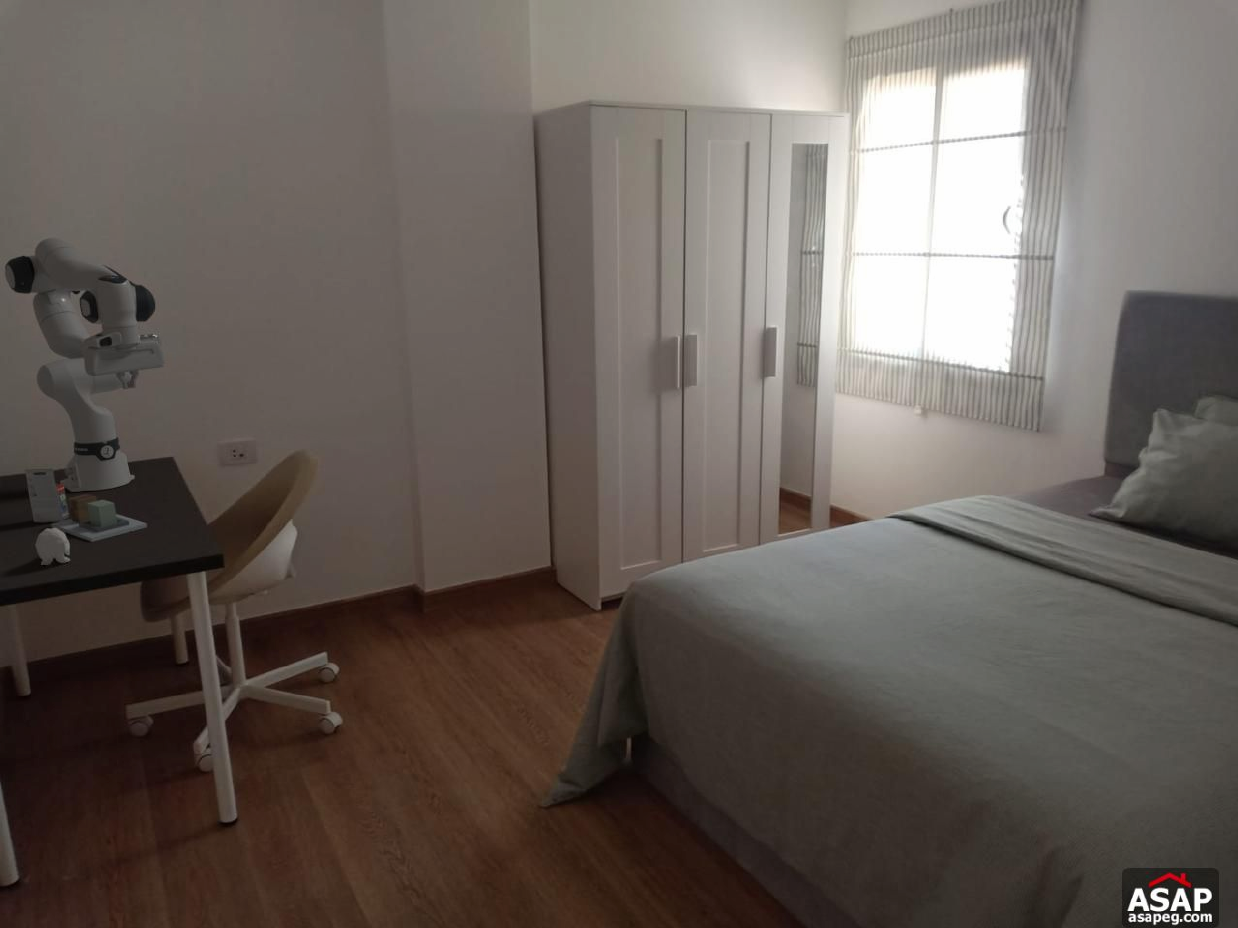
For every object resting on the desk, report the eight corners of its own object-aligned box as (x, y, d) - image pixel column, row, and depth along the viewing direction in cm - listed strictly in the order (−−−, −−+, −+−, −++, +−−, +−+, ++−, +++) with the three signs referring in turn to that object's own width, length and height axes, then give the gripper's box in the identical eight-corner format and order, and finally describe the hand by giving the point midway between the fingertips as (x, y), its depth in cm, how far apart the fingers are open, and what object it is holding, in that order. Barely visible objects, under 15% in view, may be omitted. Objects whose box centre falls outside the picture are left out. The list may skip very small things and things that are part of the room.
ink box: (41, 518, 261) (32, 466, 257) (70, 518, 260) (61, 465, 257) (33, 522, 257) (23, 469, 253) (63, 522, 257) (53, 469, 253)
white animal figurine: (31, 532, 218) (41, 523, 229) (37, 569, 220) (47, 558, 231) (63, 528, 221) (71, 519, 232) (68, 565, 222) (77, 554, 233)
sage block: (90, 525, 249) (87, 503, 248) (106, 521, 252) (103, 499, 251) (102, 529, 246) (98, 506, 244) (117, 525, 249) (114, 502, 247)
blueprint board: (51, 527, 252) (47, 501, 251) (106, 514, 263) (102, 489, 261) (91, 541, 239) (87, 514, 238) (147, 527, 250) (143, 501, 248)
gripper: (153, 332, 269) (160, 381, 273) (77, 341, 254) (86, 392, 257) (165, 333, 266) (172, 383, 269) (89, 342, 250) (97, 394, 253)
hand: (129, 388), depth 263 cm, fingers closed
